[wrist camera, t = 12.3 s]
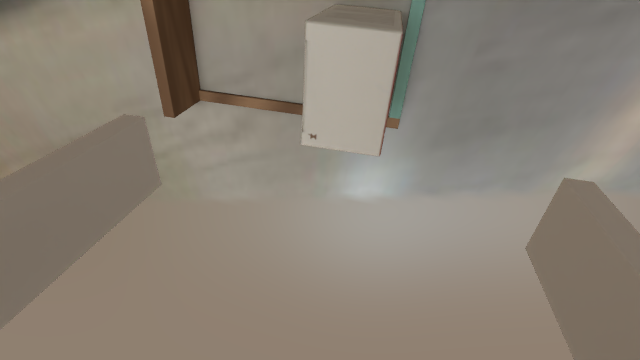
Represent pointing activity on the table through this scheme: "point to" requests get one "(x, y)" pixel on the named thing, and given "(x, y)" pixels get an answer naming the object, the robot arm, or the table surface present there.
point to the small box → (349, 77)
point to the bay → (184, 91)
